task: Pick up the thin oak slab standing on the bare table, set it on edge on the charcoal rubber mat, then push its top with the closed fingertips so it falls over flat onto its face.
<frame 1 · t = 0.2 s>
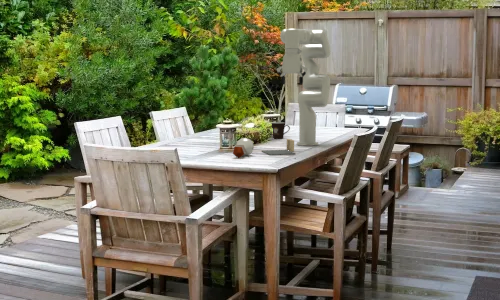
hand: (292, 84, 382), 36 cm above the table, tool pointing down, fingers open, 9 cm apart
mat: (278, 152, 382), on the table
coffee mug: (279, 139, 449), on the table
oak slab: (290, 150, 392), on the table
potion bottle: (243, 156, 370), on the table
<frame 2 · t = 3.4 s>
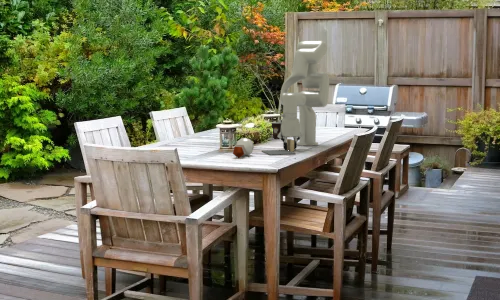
hand: (290, 149, 392), 1 cm above the table, tool pointing down, fingers open, 4 cm apart
nothing on the table moved.
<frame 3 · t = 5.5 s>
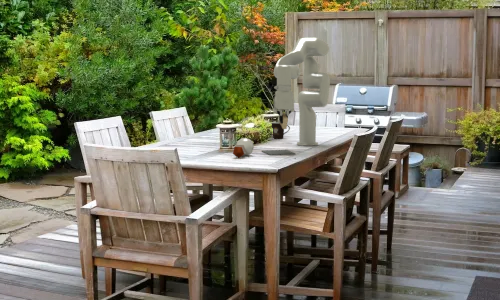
hand: (283, 122, 381), 16 cm above the table, tool pointing down, fingers closed on oak slab, 1 cm apart
oak slab: (282, 125, 383), point 14 cm above the table, tilted 24°, touching gripper
everything else where it was.
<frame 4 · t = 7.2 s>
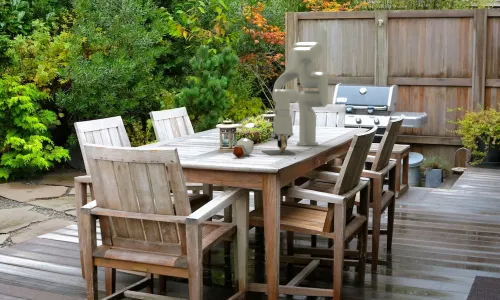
hand: (282, 147, 380), 3 cm above the table, tool pointing down, fingers closed on oak slab, 2 cm apart
oak slab: (280, 146, 383), point 4 cm above the table, tilted 58°, touching gripper, mat
everything else where it was.
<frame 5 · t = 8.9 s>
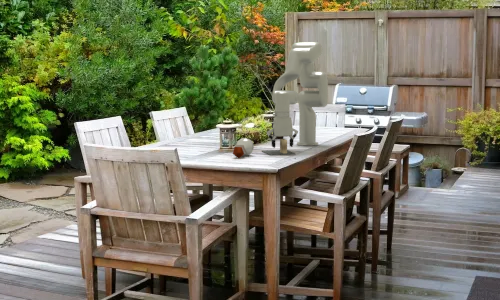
hand: (282, 146, 381), 3 cm above the table, tool pointing down, fingers open, 9 cm apart
oak slab: (281, 145, 381), point 4 cm above the table, tilted 90°, touching mat
everything else where it was.
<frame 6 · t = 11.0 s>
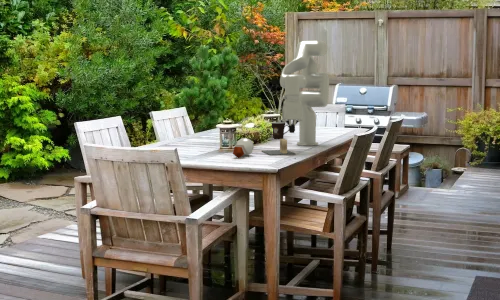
hand: (291, 132, 381), 11 cm above the table, tool pointing down, fingers closed
nothing on the table moved.
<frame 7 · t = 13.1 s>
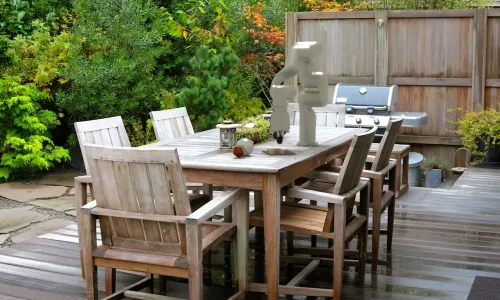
hand: (279, 143, 381), 5 cm above the table, tool pointing down, fingers closed
oak slab: (273, 150, 380), point 2 cm above the table, tilted 90°, touching mat
everything else where it was.
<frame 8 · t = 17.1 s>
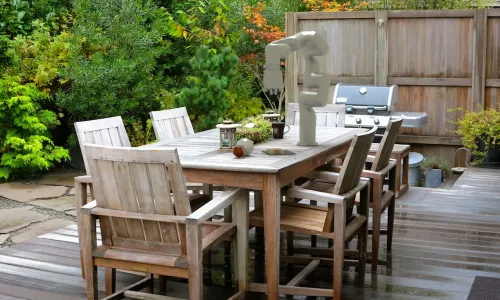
hand: (272, 102, 381), 27 cm above the table, tool pointing down, fingers closed
nothing on the table moved.
at the end: oak slab tilted 90°; oak slab inside the target area on the mat (3.1 cm from its centre), point 1.6 cm above the mat's base; the gripper is holding nothing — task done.
